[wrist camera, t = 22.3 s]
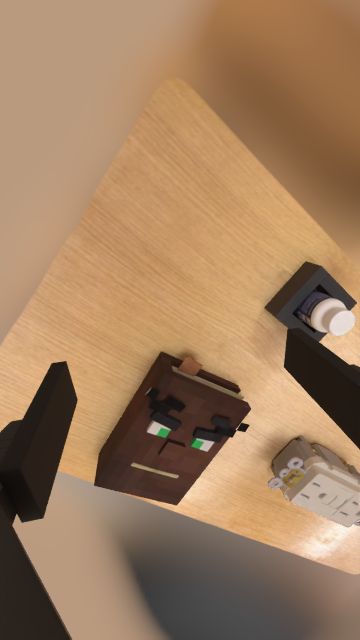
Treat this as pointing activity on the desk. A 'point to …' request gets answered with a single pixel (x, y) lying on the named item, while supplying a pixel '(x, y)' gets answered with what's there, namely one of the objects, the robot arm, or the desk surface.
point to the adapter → (300, 290)
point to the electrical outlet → (318, 482)
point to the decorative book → (170, 431)
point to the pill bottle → (325, 314)
